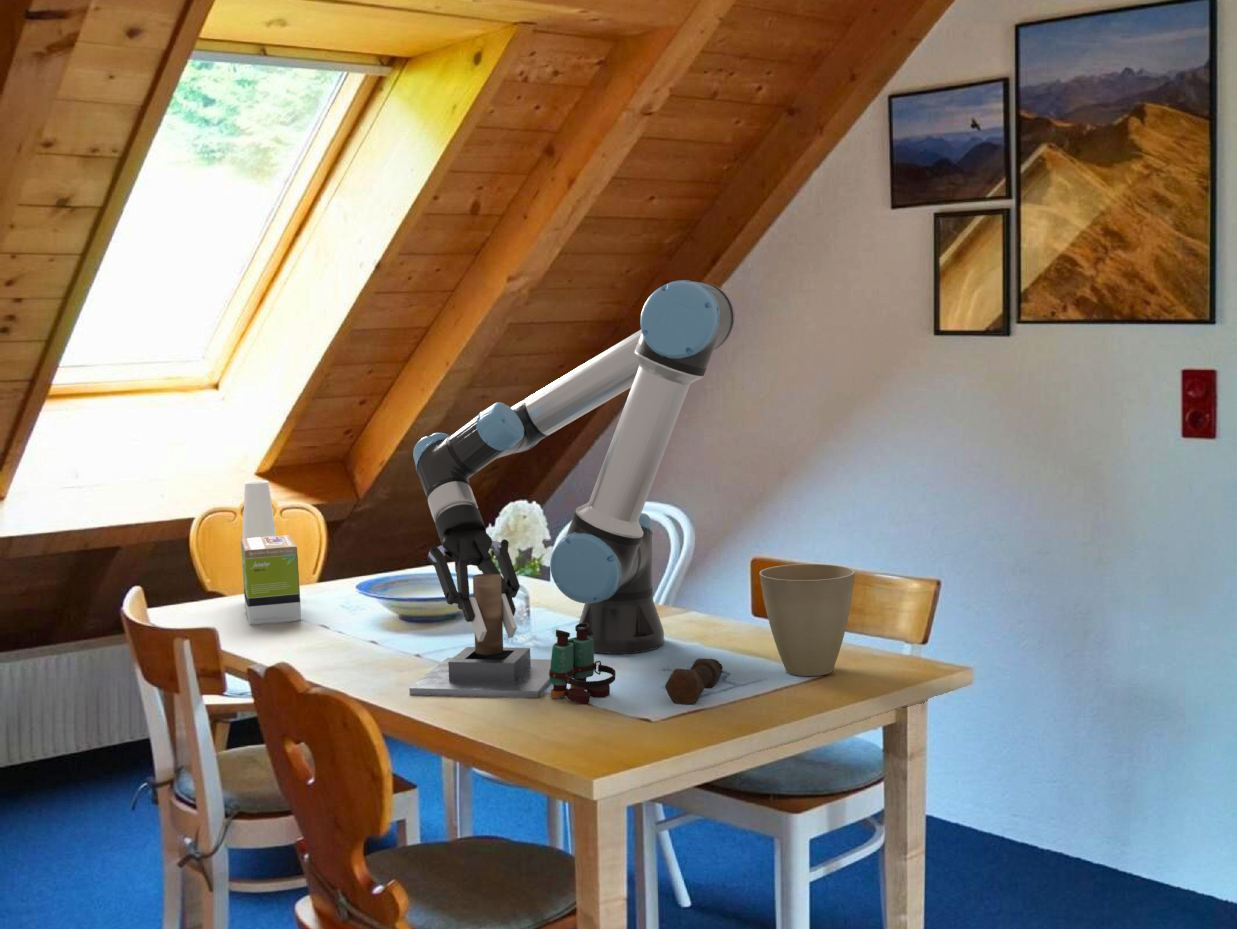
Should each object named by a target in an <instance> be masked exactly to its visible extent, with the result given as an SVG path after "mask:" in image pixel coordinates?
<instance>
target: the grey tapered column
mask: <svg viewBox="0 0 1237 929" xmlns="http://www.w3.org/2000/svg"><path fill="white" fill-rule="evenodd" d="M270 488H271V487H270V483H269V481H268V480H252V481H251V480H250V481H245V482H244V493H243V494H244V495H243V497H244V498H243V499H244V501H243V517H242V521H243V522H242V539H246V538H256V537H266V536H277V532H276V530H277V529H276V524H275V518H274V510H273V504H272V497H271V489H270Z"/></svg>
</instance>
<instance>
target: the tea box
mask: <svg viewBox="0 0 1237 929" xmlns="http://www.w3.org/2000/svg"><path fill="white" fill-rule="evenodd" d="M240 549H241V550H240V551H241V552H240V553H241V565H242V566H241V567H242V568H241V569H242V581H243V582H242V583H243V596H244V608H245V614H246V617H247V620H248V624H249V625H250V626H254V625H255V626H256V625H267V624H278V623H289V622H298V621H301V620H302V607H301V604H302V603H301V590H300V576H299V574H300V573H299V557H298V554H299V553H298V546H297V544H296V543H295V542H294V540H293V538H292V537H291V535H290V534H287V535H286V534H285V535H284V534H282V535H276V536H266V537H256V538H246V539H244V538H240Z"/></svg>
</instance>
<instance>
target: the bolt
mask: <svg viewBox="0 0 1237 929" xmlns="http://www.w3.org/2000/svg"><path fill="white" fill-rule="evenodd" d="M723 670H724V667H723V664H722V663H720V661H718V660H717V659H715V658H696V660H695V661H694V663H693V664H692V665H691V667H690V669H688V668H675V669H673V671H672V672H671V674H670V676H669V678H668V679H667V681H666V683H665V685H664V688H665V691H666V692H667V696H668V697H669V698H670V700H671V701H672V703H673V704H677V705H683V706H684V705H685V706H686V705H687V706H688V705H689V706H691V705H692V706H694V705H695V704H697V703H698V701H699V699H700V697H701V695H702V693H703V692H704V690H707V689H714V688H715V687H716V685H717V684H718V682H719V680H720V679H721V676H722V674H723V672H724V671H723Z"/></svg>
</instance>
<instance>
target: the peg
mask: <svg viewBox="0 0 1237 929" xmlns="http://www.w3.org/2000/svg"><path fill="white" fill-rule="evenodd" d="M500 574H501V573H500ZM500 574H491V573H488V574H483V573H478V574H475V575H472V588H473V590H472V591H473V592H472V593H473V596H472V597H475V598H476V601H477V604H478V607H479V610H480V613H481V616H482V619H483V621H484V624H485V627H486V630H487V632H486V635H485V637H484V639H483V641H481V642H478V640H477V637H476V634H475V633H474V647H475V653H477V654H482V655H492V654H498V653H502V652H503V647H504V631H503V628H504V627H503V626H504V624H503V621H502V588H501V576H502V574H501V575H500Z"/></svg>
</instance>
